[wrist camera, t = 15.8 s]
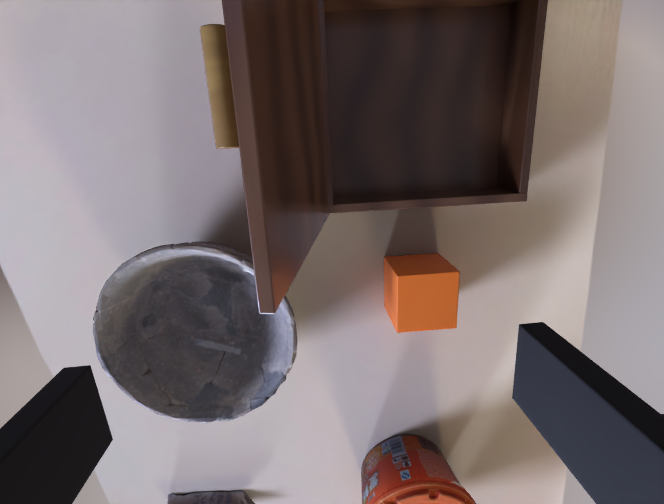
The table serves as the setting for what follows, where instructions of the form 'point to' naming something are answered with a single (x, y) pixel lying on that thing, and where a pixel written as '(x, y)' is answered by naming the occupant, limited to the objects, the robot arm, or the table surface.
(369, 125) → the box
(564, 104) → the table surface
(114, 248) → the table surface
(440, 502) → the food container
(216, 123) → the lid
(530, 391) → the robot arm
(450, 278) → the cube
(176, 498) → the artifact
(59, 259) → the table surface
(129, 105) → the table surface
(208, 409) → the bowl
